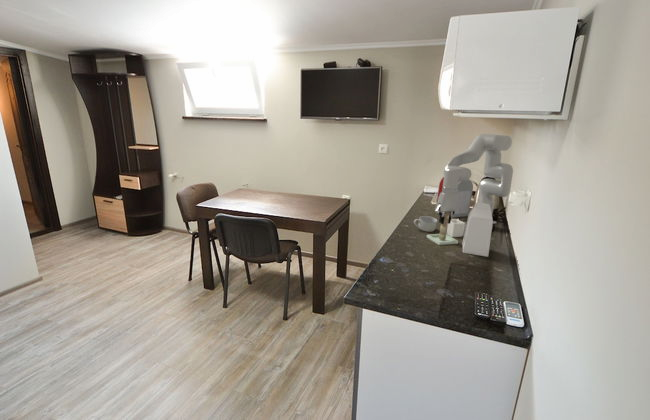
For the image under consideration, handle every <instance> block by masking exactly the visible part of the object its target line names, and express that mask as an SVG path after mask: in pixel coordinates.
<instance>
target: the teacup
mask: <svg viewBox="0 0 650 420" xmlns="http://www.w3.org/2000/svg"><path fill="white" fill-rule="evenodd" d="M417 222H418V224H417ZM437 223H438V219H437V218H435V217H433V216H430V215H429V216H428V215H422V216H421V215H420V216H419V218H416V219H414V220H413V224H414V225H415V226H416V227H417V228H418V229H419V230H421V231H422V232H425V233H432V232H434V231H435V230H436V228H437V225H438V224H437Z"/></svg>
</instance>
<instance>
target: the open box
mask: <svg viewBox="0 0 650 420" xmlns="http://www.w3.org/2000/svg"><path fill="white" fill-rule="evenodd" d="M465 229H466V222H464V221H462V220H460V219H457V218H455V219H453V218H451V222H450V224H449V223H448V227H447V233H446V234H447V235H448V236H450V237H452V238H459V237H464V234H465Z"/></svg>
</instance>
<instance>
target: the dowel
mask: <svg viewBox="0 0 650 420" xmlns="http://www.w3.org/2000/svg"><path fill="white" fill-rule="evenodd" d="M449 214H450V212H445V214H444V224H441V223H440V228H439V233H438V234H439V239H442V240H445V239H446V233H447V227H448V220H449Z"/></svg>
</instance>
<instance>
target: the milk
mask: <svg viewBox="0 0 650 420" xmlns="http://www.w3.org/2000/svg"><path fill="white" fill-rule="evenodd" d="M493 221H494V220H493V213H491V208H490V204H485V203H478V202H476V203H475V204H474V206H472V208H471V210H469V215H468V216H467V219H466V224H465V229H464V234H463V239H462V243H461V244H462V249H461V250H462V253H464V254H468V255H469V254H470V255H475V256H482V257H488V258H489V253H490V245H491V239H492V238H491V237H492V230H493V228H492V227H493V225H494V224H493Z"/></svg>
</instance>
